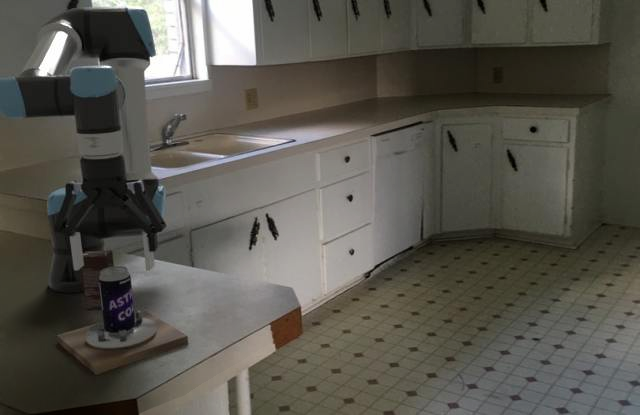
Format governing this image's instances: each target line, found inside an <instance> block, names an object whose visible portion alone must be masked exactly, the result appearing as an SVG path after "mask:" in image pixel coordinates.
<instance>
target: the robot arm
mask: <svg viewBox="0 0 640 415" xmlns="http://www.w3.org/2000/svg"><path fill="white" fill-rule="evenodd" d="M35 41H36V47H35V48H34V50H33V52H32V53H31V56H30V57H29V58H28V61H27V62H26V64H25V65H24V67H23V69H22V71H21V72H20V74H19V75H18V76H11V77H2V78H0V114H1V115H2V116H3V117H4V118H6V119H22V120H26V119H39V118H42V119H43V118H44V119H45V118H57V117H58V118H59V117H74V119H75V121H74V122H75V129H76V137H77V146H78V153H79V155H81V156H82V157H80V159H79V163H80V172H81V173H80V174H81V178H82V182H78V181H77V180H74V179H73V180H71V181H70V182H67V183H66V184H65V186H64V187H61V188H59V189H56V190H54V191H52V192H51V193H50V194H49V195H48V196H47V199H46V207H47V213H46V215H47V217H48V225H49V232H50V239H51V245H52V254H53V255H52V260H51V265H50V269H49V275H48V283H49V285H48V286H49V288H50V289H51V290H52V291H54V292H58V293H63V294H64V293H65V294H68V293H70V294H71V293H72V294H74V293H84V289H83V281H82V274H81V267H83V266H84V261H83V253H84V252H86V251H107V249H106V244H105V239H116V238H117V239H118V238H130V237H131V238H132V237H142V241H143V242H142V243H143V253H144V263H145V264H144V265H145V271H151V270H152V269H154V267H155V255H154V252H156V251H157V250H158V247H159V244H158V234H160V233H162V232H163V231H164V230H165V229H166V227H167V223H166V222H165V215H166V202H167V200H166V198H167V197H166V195H167V194H166V189H167V188H166V186H164V185H163V184H160V182H159V177H158V176H157V175H155V174H154V173H153V171H152V162H151V159H152V158H151V145H150V135H149V134H150V133H149V132H150V131H149V119H148V106H147V105H148V104H147V94H146V93H147V91H146V80H145V79H146V77H145V72H146V70H147V69H148V68H149V67H150V65H151V58H153V57H155V56H156V55H157V52H156V45H155V40H154V36H153V32H152V27H151V23H150V18H149V16H148V12H147V10H146V9H145V8H144V7H141V6H134V5H133V6H131V5H129V6H128V5H117V6H93V7H91V6H90V7H89V6H88V7H86V6H82V7H81V6H79V7H75V8H73V7H72V8H70V9H68V10H65V11H63V12H61V13H59V14H56V15H55V16H53V17H52V18H51V19H49V20H48V21H46V22H45V23H44V24H43V26H41V28H40V30H39V31H38V33H37V36H36V40H35ZM78 59H79V60H80V59H98V64H99V65H81V66H76V67H75V66H74V67H73V68H71V69H70V66H71V64H73V63H74V62H75V61H77V60H78ZM69 69H70V71H69ZM68 71H69V75H68Z"/></svg>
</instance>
